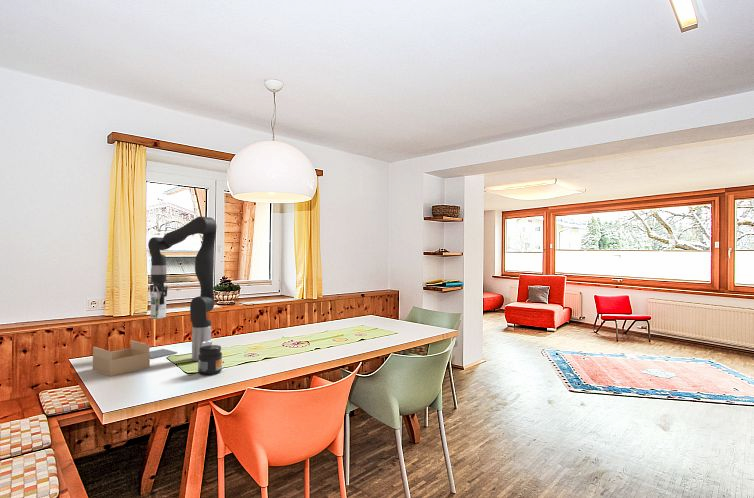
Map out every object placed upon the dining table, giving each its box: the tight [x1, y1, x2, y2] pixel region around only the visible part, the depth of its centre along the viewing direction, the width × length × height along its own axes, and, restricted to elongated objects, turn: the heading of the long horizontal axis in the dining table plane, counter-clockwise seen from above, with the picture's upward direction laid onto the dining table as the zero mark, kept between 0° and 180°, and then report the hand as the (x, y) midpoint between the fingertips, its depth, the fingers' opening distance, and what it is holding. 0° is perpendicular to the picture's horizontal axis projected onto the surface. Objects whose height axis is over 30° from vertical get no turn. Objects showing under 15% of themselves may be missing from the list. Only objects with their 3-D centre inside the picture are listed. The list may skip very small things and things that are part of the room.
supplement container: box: [197, 344, 223, 376], centre depth 188 cm, size 10×10×12 cm
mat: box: [149, 348, 178, 360], centre depth 220 cm, size 14×14×1 cm
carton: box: [92, 339, 151, 377], centre depth 194 cm, size 18×18×11 cm
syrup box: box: [150, 291, 167, 320], centre depth 220 cm, size 6×6×14 cm
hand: (158, 303), depth 220 cm, fingers closed on syrup box, 6 cm apart
